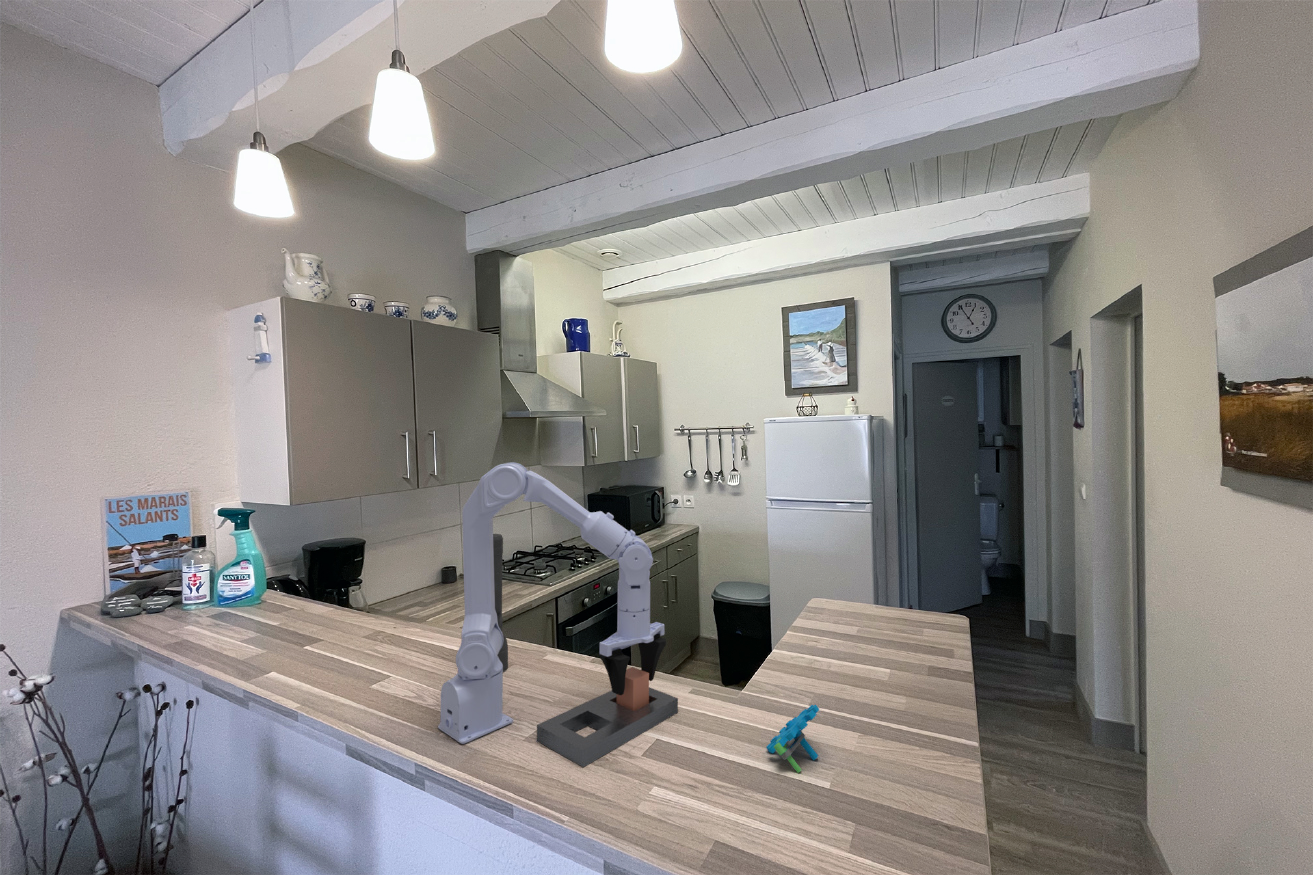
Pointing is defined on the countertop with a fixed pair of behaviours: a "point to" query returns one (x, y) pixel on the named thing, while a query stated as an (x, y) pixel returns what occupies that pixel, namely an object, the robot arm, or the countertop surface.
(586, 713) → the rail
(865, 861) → the countertop surface
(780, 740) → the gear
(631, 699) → the square block
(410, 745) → the countertop surface
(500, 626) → the flashlight
